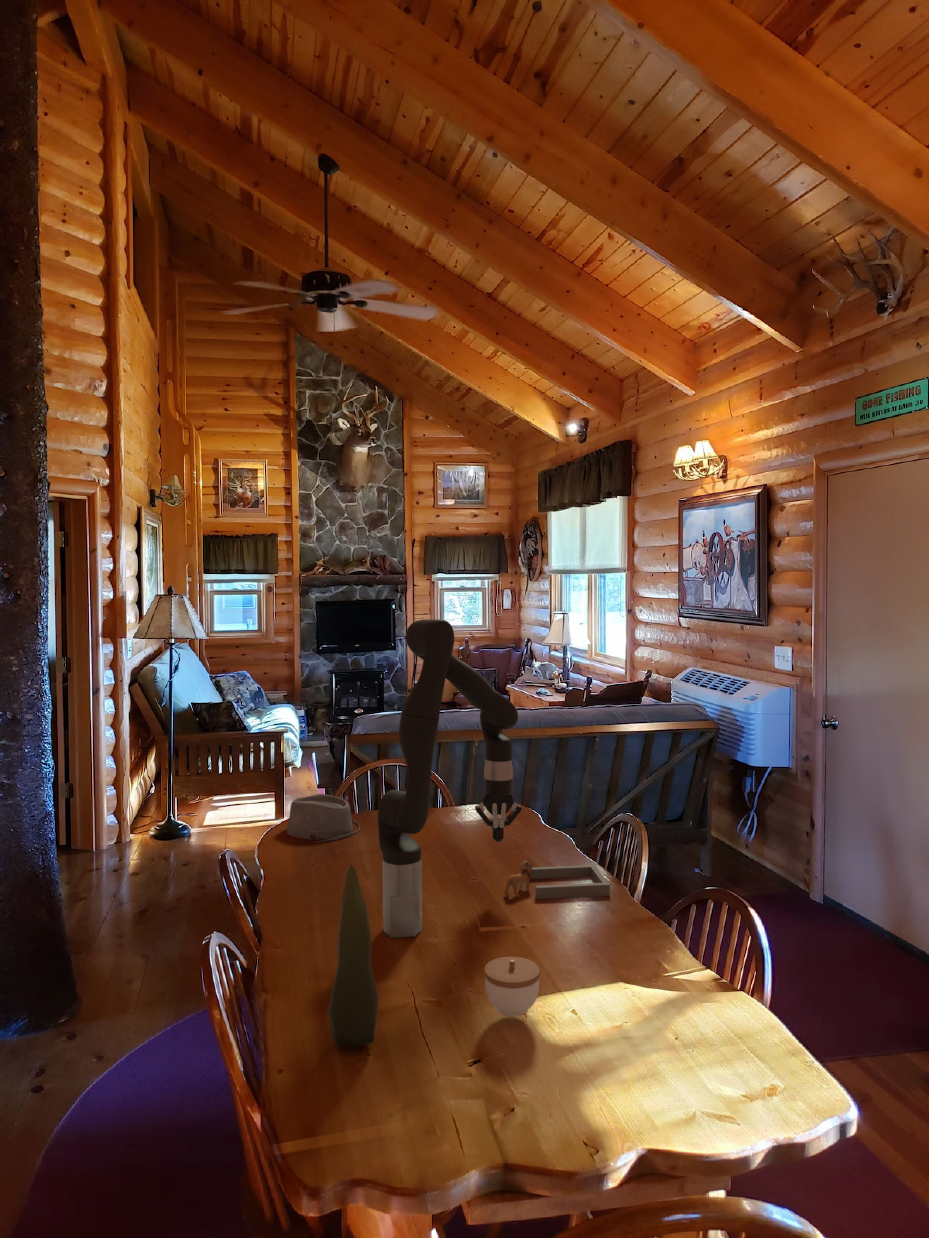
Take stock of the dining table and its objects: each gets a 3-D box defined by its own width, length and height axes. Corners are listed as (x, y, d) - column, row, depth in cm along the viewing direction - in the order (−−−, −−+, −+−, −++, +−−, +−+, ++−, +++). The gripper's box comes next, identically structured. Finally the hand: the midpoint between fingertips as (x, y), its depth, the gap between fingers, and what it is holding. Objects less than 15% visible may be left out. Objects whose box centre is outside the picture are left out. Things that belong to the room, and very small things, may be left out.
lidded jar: (474, 1014, 153) (474, 966, 153) (498, 989, 162) (498, 943, 162) (526, 1028, 148) (526, 978, 148) (548, 1001, 158) (548, 954, 157)
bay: (609, 895, 211) (609, 884, 211) (536, 899, 209) (536, 887, 209) (594, 875, 226) (594, 864, 226) (526, 878, 224) (526, 867, 224)
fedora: (299, 821, 280) (298, 786, 280) (371, 828, 272) (371, 792, 271) (261, 842, 257) (260, 804, 257) (339, 851, 249) (338, 811, 248)
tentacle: (374, 1017, 152) (372, 860, 151) (383, 1053, 140) (381, 883, 139) (325, 1023, 150) (323, 865, 149) (330, 1061, 138) (328, 889, 137)
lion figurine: (521, 884, 220) (521, 857, 219) (536, 887, 217) (535, 860, 217) (500, 898, 209) (500, 871, 209) (515, 902, 207) (514, 874, 207)
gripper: (475, 779, 210) (474, 845, 210) (525, 779, 211) (524, 844, 212) (472, 773, 217) (471, 837, 218) (520, 772, 219) (520, 836, 219)
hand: (497, 840), depth 215 cm, fingers closed
